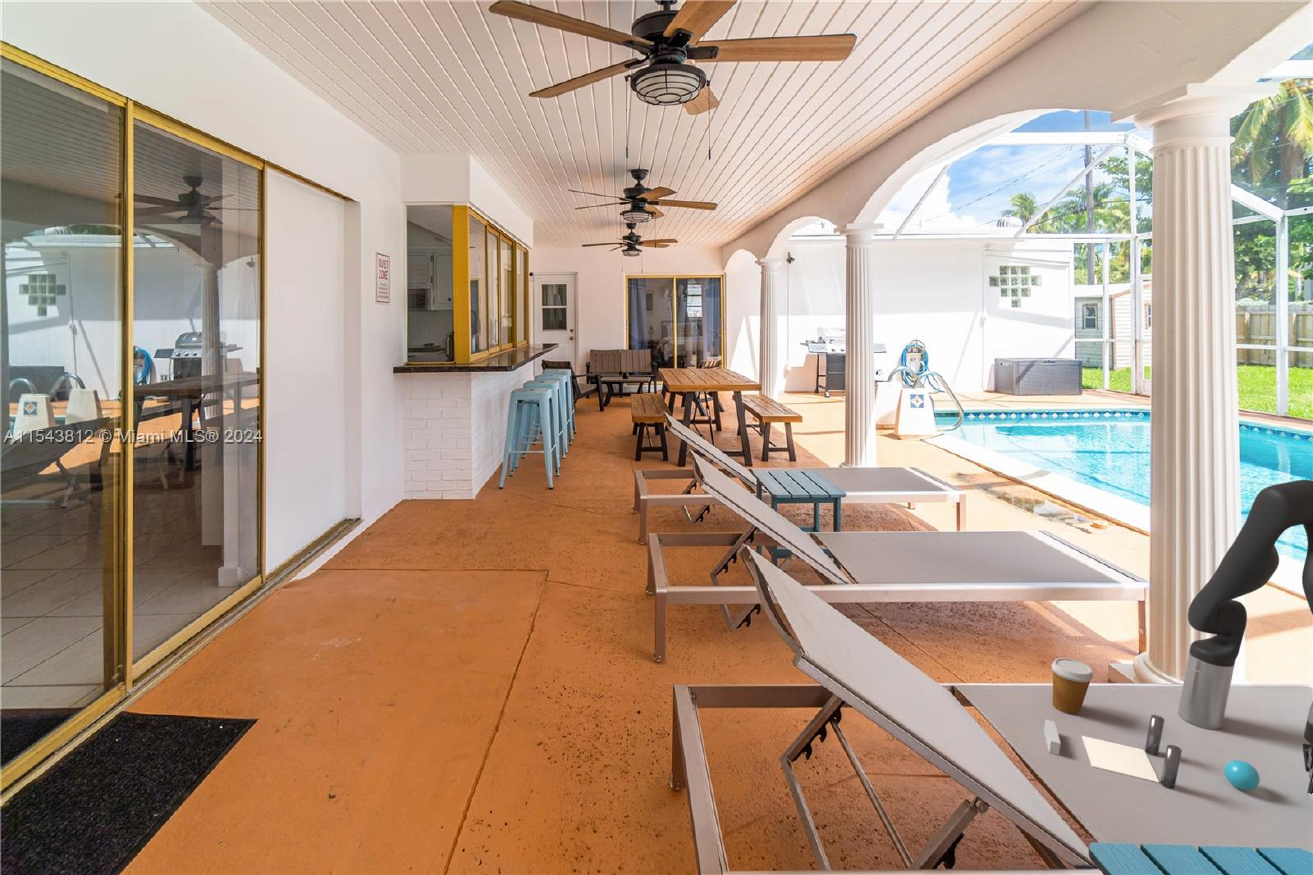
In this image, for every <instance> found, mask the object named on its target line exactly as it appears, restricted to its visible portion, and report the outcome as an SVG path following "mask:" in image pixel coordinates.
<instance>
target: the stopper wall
mask: <svg viewBox="0 0 1313 875" xmlns="http://www.w3.org/2000/svg"><path fill="white" fill-rule="evenodd" d="M1043 733H1044V737H1045V741H1046V746H1047V749H1048V753H1049V754H1053V755H1057V756H1060V752H1061V751H1060V749H1061V744H1062V743H1061V739H1060V737H1059V732H1058V729H1057V726H1056V722H1055V721H1054V720H1049V719H1045V721H1044V726H1043Z"/></svg>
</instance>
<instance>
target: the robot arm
mask: <svg viewBox="0 0 1313 875" xmlns="http://www.w3.org/2000/svg"><path fill="white" fill-rule="evenodd" d="M1297 526H1303V527H1304V530H1305V533H1306V540H1307V549H1306V555H1305V560H1304V565H1303V569H1302V573H1301V574H1302V575H1301V578H1302V579H1301V581H1302V589H1303V592H1304V595H1305V598H1306V601H1307V604H1308V607H1309V609H1310V612H1311V614H1312V616H1313V480H1311V479H1299V480H1293V481H1287V482H1282V483H1277V484H1272V485H1269V486H1266V487H1264V488H1263V489H1261V490H1260V491H1259V492H1258V494H1257V495H1256V497H1255V499H1254V501H1253V502H1252V505H1251V507H1250V509H1249V512H1248V515H1247V517H1246V520H1245V521H1244V524H1243V526H1242V528H1241V530H1240V531H1239V532H1238V535H1237V536H1236V538H1235V540H1234V542H1232V544H1231V546H1230V547H1228V548H1229V549H1228V550H1227V552H1226V553H1225V555H1224V556H1223V558H1222V559H1221V562H1220V564H1219V565H1218V566H1217V568H1216V570H1215V572H1214V573H1213V575H1212V577H1211V578H1210V579H1209V581H1208V582H1207V583H1206V584H1205V585H1204V586H1203V587H1202V589H1201V590H1199V592H1198V593H1197V594H1196V595H1195V597H1194V598H1193V599H1192V601H1191V603H1190V605H1189V607H1188V611H1187V620H1188V623H1189V625H1190V626H1191V627H1192V629H1194V630H1196V631H1198V632H1201V633H1206V634H1212V635H1214V636H1212V637H1208V638H1205V639H1198V640H1197V639H1196V640H1194V641H1193V642H1191V644H1190V646H1189V647H1190V648H1189V652H1188V658H1187V664H1186V669H1185V673H1184V679H1183V685H1182V690H1181V695H1180V700H1179V703H1178V704H1179V705H1178V709H1177V710H1178V711H1177V714H1178V716H1179V717H1180V718H1182V719H1183V720H1185V721H1187V723H1190V724H1192V725H1195V726H1197V727H1200V728H1205V729H1209V730H1219V729H1222V727H1223V724H1224V718H1225V714H1226V708H1227V704H1228V699H1229V694H1230V689H1231V684H1232V680H1233V674H1234V670H1235V664H1236V660H1237V658H1238V656H1239V653H1240V650H1241V649H1240V648H1241V645H1242V643H1243V642H1242V641H1243V639H1244V634H1245V631H1246V628H1247V623H1248V613H1247V610H1246V609H1247V608H1246V607H1245V606H1244V604H1243V603H1242V602H1241V601H1238V600H1235V599H1237V598H1239V597H1242V596H1245V595H1248V594H1250V593H1253V592H1255V591H1258V590H1260V589H1261V588H1263V587H1264V586H1265V585H1266V584H1267V583H1268V582H1269V581H1270V579H1271V578H1272V577H1273V575H1274V574H1275V572H1276V570H1277V569H1278V568H1279V564H1280V557H1279V556H1280V555H1279V553H1278V550H1277V548H1276V545H1275V544H1276V542H1277V541H1278V540H1279V539H1280V536H1282V534H1283V533H1284V532H1285V531H1287V530H1288V529H1290V528H1291V527H1292V528H1293V527H1297ZM1303 738H1304V740H1306V742H1308V743H1306V742H1303V743H1302V751H1303V752H1302V753H1303V761H1304V768H1305V771H1306V773H1308V779H1309V783H1308V786H1307V787H1308V788H1307V792H1306V793H1310V794H1312V793H1313V701H1311V704H1310V706H1309V709H1308V714H1307V719H1306V723H1305V728H1304V730H1303Z"/></svg>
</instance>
